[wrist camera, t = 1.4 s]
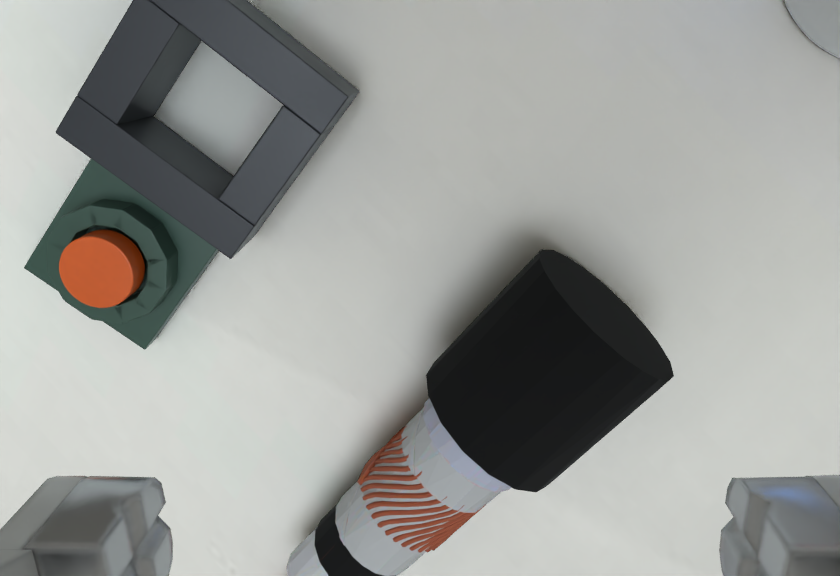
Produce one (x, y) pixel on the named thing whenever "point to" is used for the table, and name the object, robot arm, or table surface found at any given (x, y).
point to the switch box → (148, 229)
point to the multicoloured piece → (494, 418)
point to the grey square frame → (172, 155)
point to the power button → (101, 268)
